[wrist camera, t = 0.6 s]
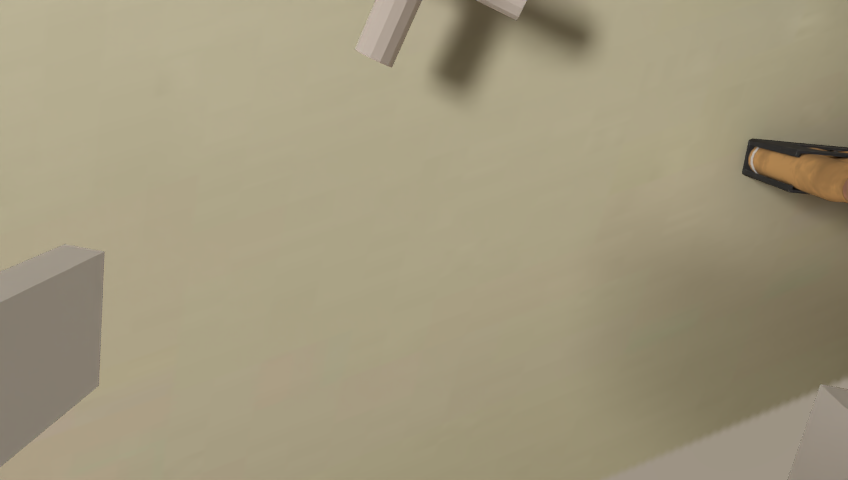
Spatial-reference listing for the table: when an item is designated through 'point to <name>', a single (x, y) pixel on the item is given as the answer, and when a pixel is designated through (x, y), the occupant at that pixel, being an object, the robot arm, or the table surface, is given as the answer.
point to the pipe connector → (406, 25)
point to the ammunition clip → (799, 167)
